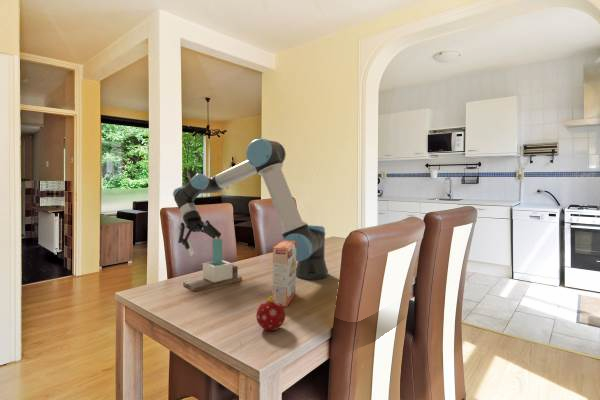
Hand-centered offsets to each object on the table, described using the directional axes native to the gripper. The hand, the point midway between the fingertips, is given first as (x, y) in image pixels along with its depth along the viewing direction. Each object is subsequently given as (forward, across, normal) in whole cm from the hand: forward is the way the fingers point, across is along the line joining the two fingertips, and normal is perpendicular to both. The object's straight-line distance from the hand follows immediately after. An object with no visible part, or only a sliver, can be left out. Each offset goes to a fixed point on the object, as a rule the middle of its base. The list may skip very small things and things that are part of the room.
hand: (207, 252), depth 151 cm
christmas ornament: (+50, +12, +33) cm, 61 cm away
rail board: (+14, +2, -2) cm, 14 cm away
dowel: (+12, 0, 0) cm, 12 cm away
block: (+13, 0, -1) cm, 13 cm away
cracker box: (+39, -7, +23) cm, 46 cm away
